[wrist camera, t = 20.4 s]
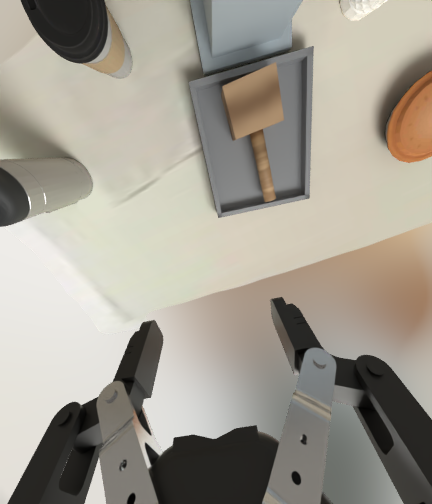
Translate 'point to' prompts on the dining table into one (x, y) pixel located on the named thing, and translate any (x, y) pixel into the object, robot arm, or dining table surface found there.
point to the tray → (276, 137)
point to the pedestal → (241, 30)
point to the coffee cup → (81, 33)
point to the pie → (412, 123)
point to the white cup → (359, 8)
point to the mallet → (255, 115)
